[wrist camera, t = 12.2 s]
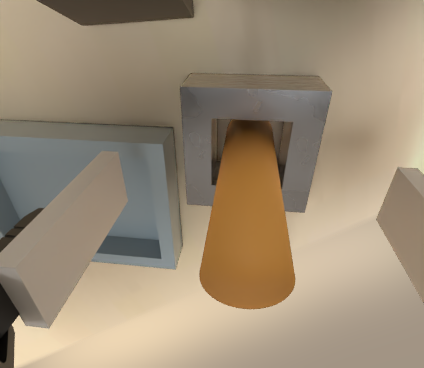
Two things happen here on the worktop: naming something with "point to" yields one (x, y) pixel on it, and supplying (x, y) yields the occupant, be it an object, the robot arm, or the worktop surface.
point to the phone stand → (120, 10)
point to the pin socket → (253, 110)
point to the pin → (248, 223)
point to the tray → (76, 161)
